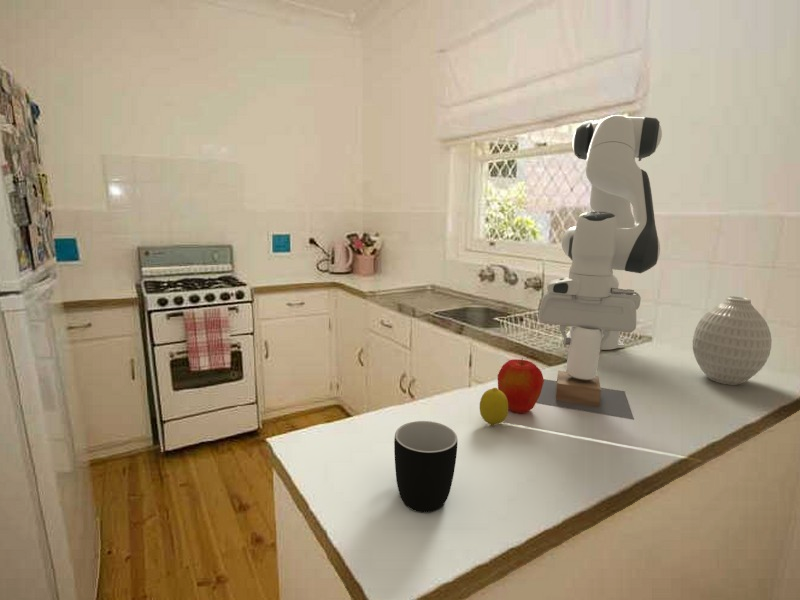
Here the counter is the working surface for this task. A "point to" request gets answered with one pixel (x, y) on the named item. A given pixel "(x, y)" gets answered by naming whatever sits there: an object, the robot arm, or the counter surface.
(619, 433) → the counter surface
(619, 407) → the mat
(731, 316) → the vase
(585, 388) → the plinth
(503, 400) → the lemon
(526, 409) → the apple
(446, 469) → the mug
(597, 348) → the can
